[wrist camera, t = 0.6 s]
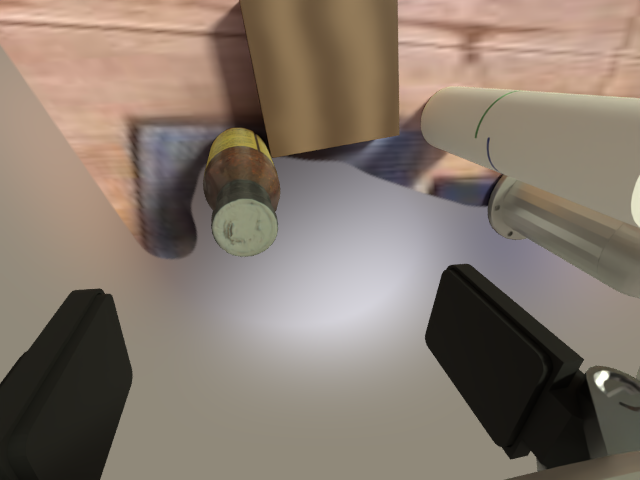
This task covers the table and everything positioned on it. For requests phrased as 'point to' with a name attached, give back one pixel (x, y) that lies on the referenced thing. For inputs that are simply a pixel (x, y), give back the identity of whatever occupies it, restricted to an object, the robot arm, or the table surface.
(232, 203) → the sauce bottle
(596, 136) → the cylindrical container
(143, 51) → the table surface
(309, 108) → the walnut plinth
